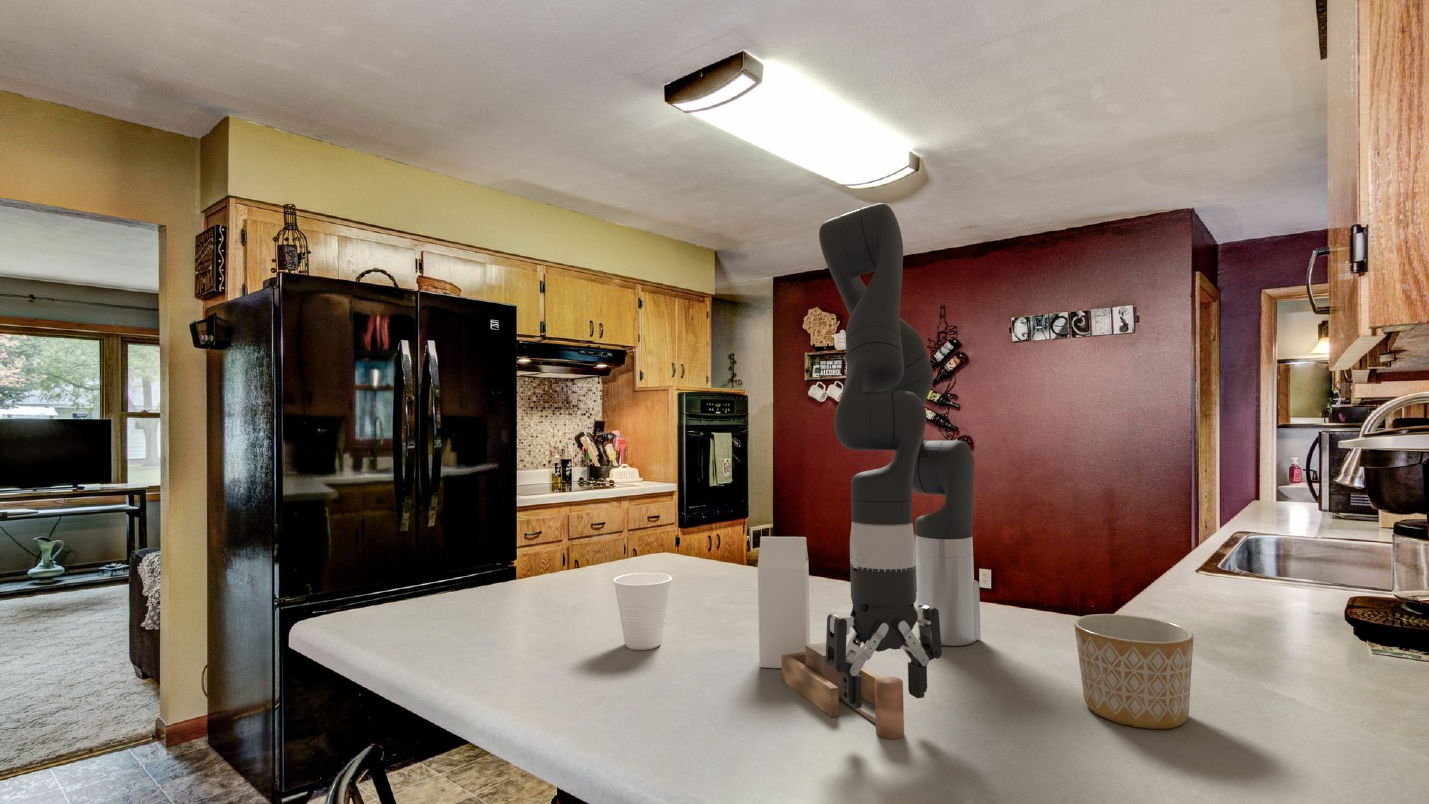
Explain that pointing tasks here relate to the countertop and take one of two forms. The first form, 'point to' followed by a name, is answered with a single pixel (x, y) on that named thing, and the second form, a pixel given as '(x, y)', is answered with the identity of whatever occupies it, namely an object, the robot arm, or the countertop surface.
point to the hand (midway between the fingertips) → (885, 701)
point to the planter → (1135, 669)
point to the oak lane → (821, 683)
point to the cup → (642, 608)
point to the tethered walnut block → (885, 693)
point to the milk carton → (782, 599)
